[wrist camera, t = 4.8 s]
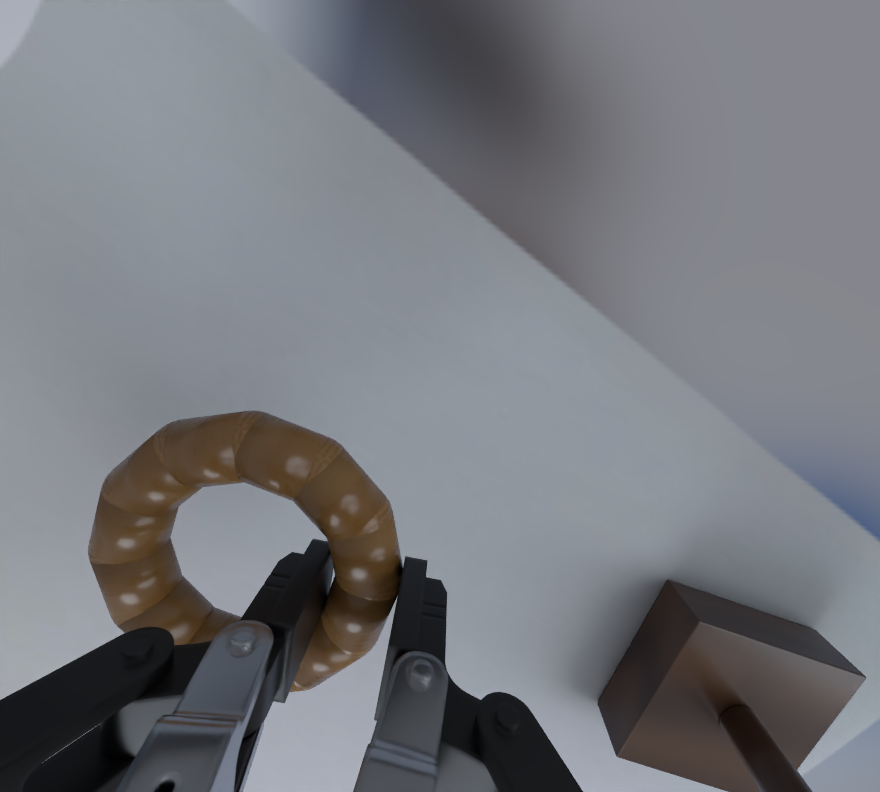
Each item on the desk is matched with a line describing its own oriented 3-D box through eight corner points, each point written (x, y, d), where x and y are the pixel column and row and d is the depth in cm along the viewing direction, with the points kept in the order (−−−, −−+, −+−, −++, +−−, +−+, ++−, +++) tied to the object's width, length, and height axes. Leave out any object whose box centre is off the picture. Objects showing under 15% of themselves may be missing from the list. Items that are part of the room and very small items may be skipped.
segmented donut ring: (161, 360, 13) (107, 372, 11) (446, 471, 13) (444, 502, 11) (102, 602, 15) (49, 648, 13) (349, 690, 15) (334, 748, 13)
